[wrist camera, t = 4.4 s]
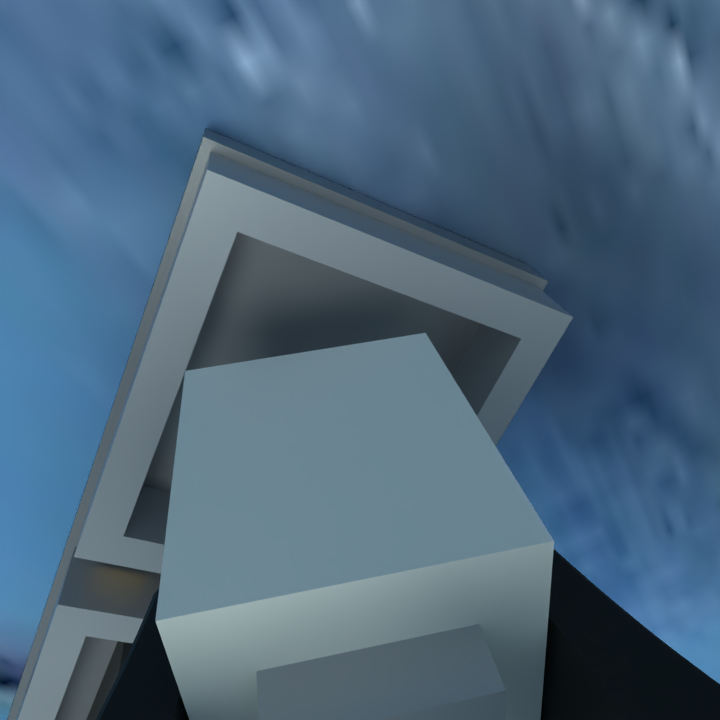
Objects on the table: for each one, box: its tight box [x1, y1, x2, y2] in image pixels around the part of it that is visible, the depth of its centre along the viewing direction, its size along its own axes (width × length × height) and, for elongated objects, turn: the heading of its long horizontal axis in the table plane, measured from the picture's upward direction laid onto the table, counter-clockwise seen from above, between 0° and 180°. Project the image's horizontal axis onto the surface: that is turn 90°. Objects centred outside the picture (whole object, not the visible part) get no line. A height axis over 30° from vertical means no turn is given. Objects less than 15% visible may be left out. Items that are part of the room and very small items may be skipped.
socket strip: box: [7, 128, 573, 720], centre depth 17 cm, size 8×19×3 cm, turn 155°
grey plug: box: [155, 333, 554, 720], centre depth 9 cm, size 4×5×6 cm
